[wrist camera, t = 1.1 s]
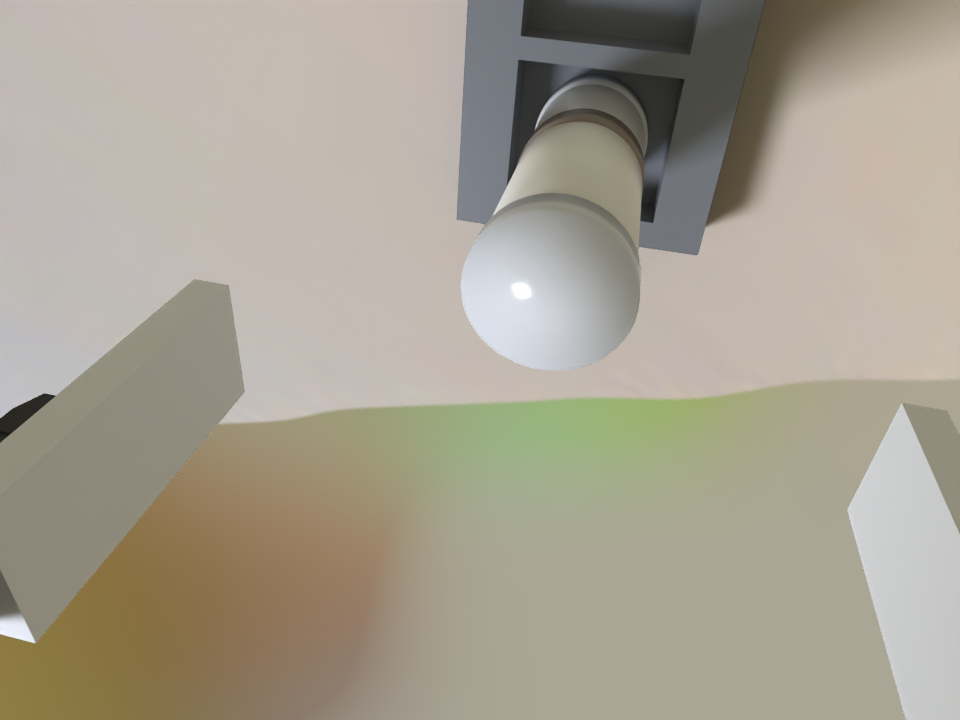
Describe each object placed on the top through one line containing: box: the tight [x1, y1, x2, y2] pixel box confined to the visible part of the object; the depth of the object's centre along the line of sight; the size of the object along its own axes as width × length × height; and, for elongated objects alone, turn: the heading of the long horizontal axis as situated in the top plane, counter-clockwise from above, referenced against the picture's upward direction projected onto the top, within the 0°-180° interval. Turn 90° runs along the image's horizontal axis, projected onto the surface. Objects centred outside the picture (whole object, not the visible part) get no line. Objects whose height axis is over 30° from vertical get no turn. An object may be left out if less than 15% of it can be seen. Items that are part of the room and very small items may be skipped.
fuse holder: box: [457, 0, 765, 255], centre depth 27 cm, size 10×14×2 cm
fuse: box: [461, 74, 648, 371], centre depth 23 cm, size 4×4×14 cm
